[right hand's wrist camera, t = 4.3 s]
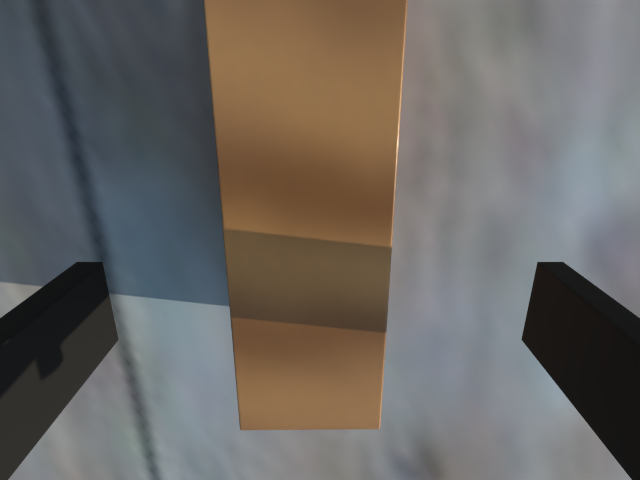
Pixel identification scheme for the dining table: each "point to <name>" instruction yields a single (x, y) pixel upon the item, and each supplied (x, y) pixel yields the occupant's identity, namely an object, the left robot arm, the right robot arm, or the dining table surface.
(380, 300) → the beam
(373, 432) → the dining table surface
